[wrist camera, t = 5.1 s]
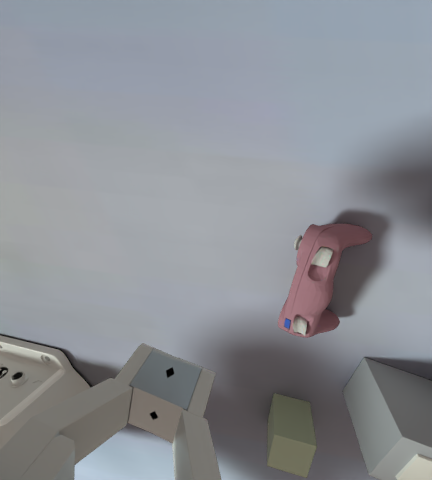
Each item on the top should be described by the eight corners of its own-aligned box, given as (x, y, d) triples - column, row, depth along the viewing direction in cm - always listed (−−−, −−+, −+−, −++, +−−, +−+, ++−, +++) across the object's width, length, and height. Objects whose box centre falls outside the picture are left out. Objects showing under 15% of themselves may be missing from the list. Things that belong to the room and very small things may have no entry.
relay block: (267, 421, 29) (267, 465, 25) (273, 392, 27) (274, 434, 23) (301, 431, 28) (306, 477, 24) (309, 401, 26) (316, 446, 22)
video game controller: (319, 212, 21) (289, 222, 16) (377, 226, 19) (364, 244, 13) (293, 303, 25) (261, 336, 19) (339, 325, 22) (316, 370, 17)
